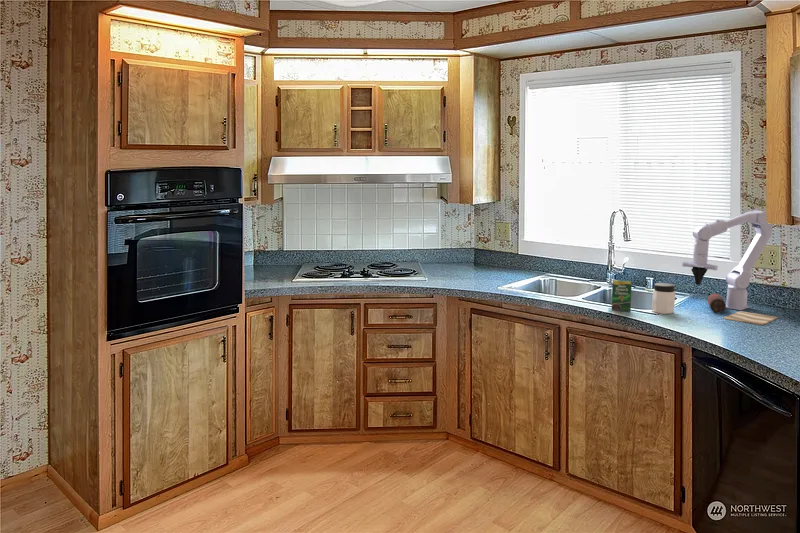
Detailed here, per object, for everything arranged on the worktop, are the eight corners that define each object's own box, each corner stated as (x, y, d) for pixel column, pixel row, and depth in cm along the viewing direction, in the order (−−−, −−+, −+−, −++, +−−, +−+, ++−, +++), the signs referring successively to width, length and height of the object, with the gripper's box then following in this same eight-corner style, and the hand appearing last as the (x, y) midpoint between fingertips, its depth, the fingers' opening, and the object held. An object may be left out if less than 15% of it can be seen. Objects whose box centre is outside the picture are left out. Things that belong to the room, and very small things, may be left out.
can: (711, 314, 286) (708, 308, 299) (727, 311, 284) (724, 304, 297) (707, 301, 286) (705, 295, 299) (723, 297, 284) (720, 291, 297)
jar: (649, 309, 291) (651, 282, 289) (668, 309, 291) (670, 282, 289) (656, 314, 282) (658, 286, 280) (676, 314, 282) (678, 286, 280)
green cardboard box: (610, 310, 289) (612, 280, 287) (611, 308, 292) (613, 279, 289) (630, 312, 286) (632, 281, 284) (630, 310, 288) (632, 280, 286)
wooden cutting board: (739, 312, 287) (739, 311, 287) (777, 318, 277) (777, 317, 277) (723, 318, 275) (723, 317, 275) (762, 325, 264) (762, 324, 264)
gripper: (680, 252, 294) (677, 283, 297) (714, 256, 284) (711, 287, 286) (687, 251, 299) (684, 281, 301) (720, 255, 289) (717, 285, 291)
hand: (698, 284), depth 294 cm, fingers closed
